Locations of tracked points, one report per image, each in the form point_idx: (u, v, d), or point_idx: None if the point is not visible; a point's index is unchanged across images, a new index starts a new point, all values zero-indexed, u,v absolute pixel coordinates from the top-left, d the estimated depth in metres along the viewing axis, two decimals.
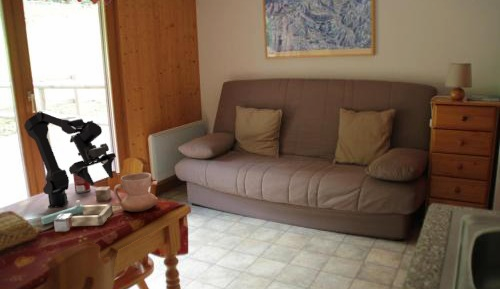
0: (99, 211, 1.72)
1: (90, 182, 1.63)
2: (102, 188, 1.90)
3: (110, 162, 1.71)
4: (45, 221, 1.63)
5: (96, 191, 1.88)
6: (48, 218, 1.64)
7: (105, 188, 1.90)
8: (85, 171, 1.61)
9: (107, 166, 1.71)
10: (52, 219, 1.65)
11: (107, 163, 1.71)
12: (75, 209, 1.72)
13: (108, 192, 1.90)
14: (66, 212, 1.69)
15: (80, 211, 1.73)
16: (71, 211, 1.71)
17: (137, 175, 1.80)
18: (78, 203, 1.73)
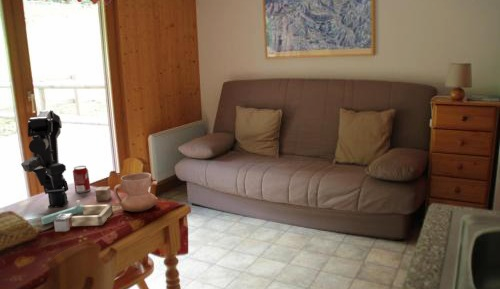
0: (99, 211, 1.72)
1: None
2: (102, 188, 1.90)
3: (49, 176, 1.62)
4: (45, 221, 1.63)
5: (96, 191, 1.88)
6: (48, 218, 1.64)
7: (105, 188, 1.90)
8: (34, 172, 1.69)
9: None
10: (52, 219, 1.65)
11: None
12: (75, 209, 1.72)
13: (108, 192, 1.90)
14: (66, 212, 1.69)
15: (80, 211, 1.73)
16: (71, 211, 1.71)
17: (137, 175, 1.80)
18: (78, 203, 1.73)
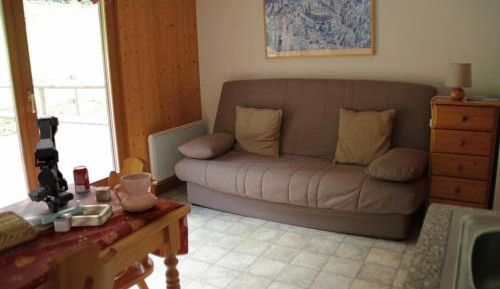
0: (99, 211, 1.72)
1: None
2: (102, 188, 1.90)
3: (50, 203, 1.65)
4: (45, 221, 1.63)
5: (96, 191, 1.88)
6: (48, 218, 1.63)
7: (105, 188, 1.90)
8: (46, 203, 1.66)
9: None
10: (52, 219, 1.65)
11: None
12: (75, 209, 1.72)
13: (108, 192, 1.90)
14: (66, 212, 1.69)
15: (80, 211, 1.73)
16: (71, 211, 1.71)
17: (137, 175, 1.80)
18: (78, 203, 1.73)
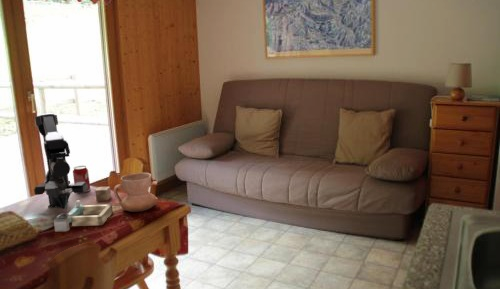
0: (99, 211, 1.72)
1: None
2: (102, 188, 1.90)
3: (63, 196, 1.61)
4: None
5: (96, 191, 1.88)
6: None
7: (105, 188, 1.90)
8: (55, 197, 1.61)
9: None
10: (69, 220, 1.63)
11: None
12: (79, 209, 1.72)
13: (108, 192, 1.90)
14: (75, 212, 1.68)
15: (82, 210, 1.74)
16: (77, 211, 1.70)
17: (137, 175, 1.80)
18: (79, 203, 1.73)
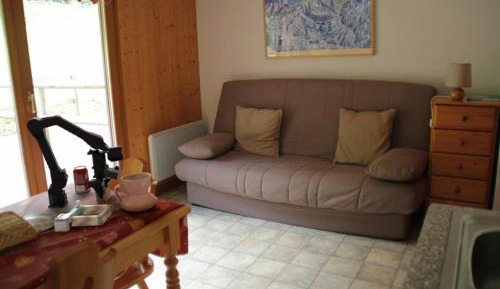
0: (99, 211, 1.72)
1: (100, 196, 1.87)
2: None
3: None
4: None
5: None
6: None
7: (105, 188, 1.90)
8: None
9: (105, 183, 1.93)
10: (69, 220, 1.63)
11: (106, 181, 1.92)
12: (79, 209, 1.72)
13: (108, 192, 1.90)
14: (75, 212, 1.68)
15: (82, 210, 1.74)
16: (77, 211, 1.70)
17: (137, 175, 1.80)
18: (79, 203, 1.73)
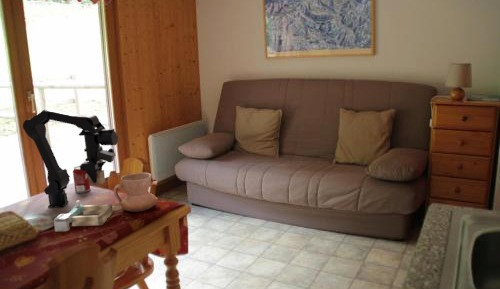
0: (99, 211, 1.72)
1: (94, 180, 1.77)
2: None
3: None
4: None
5: None
6: None
7: (99, 172, 1.79)
8: (96, 170, 1.75)
9: (98, 167, 1.82)
10: (69, 220, 1.63)
11: (100, 165, 1.82)
12: (79, 209, 1.72)
13: (102, 176, 1.80)
14: (75, 212, 1.68)
15: (82, 210, 1.74)
16: (77, 211, 1.70)
17: (137, 175, 1.80)
18: (79, 203, 1.73)
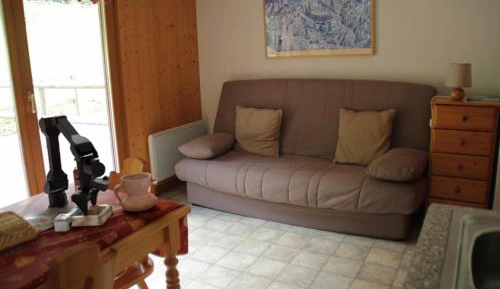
0: (99, 211, 1.72)
1: (85, 212, 1.62)
2: (89, 207, 1.66)
3: (98, 191, 1.71)
4: None
5: None
6: None
7: (93, 207, 1.66)
8: (87, 202, 1.60)
9: (94, 194, 1.70)
10: (69, 220, 1.63)
11: (95, 191, 1.70)
12: (79, 209, 1.72)
13: (96, 212, 1.67)
14: (75, 212, 1.68)
15: None
16: (77, 211, 1.70)
17: (137, 175, 1.80)
18: None
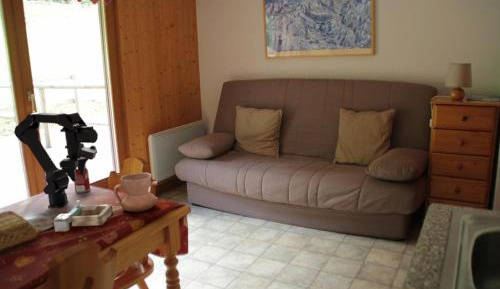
0: (99, 211, 1.72)
1: (73, 178, 1.73)
2: (89, 207, 1.66)
3: (86, 161, 1.83)
4: None
5: (82, 211, 1.64)
6: None
7: (93, 207, 1.66)
8: (75, 169, 1.71)
9: (82, 163, 1.82)
10: (69, 220, 1.63)
11: (83, 161, 1.82)
12: (79, 209, 1.72)
13: (96, 212, 1.67)
14: (75, 212, 1.68)
15: None
16: (77, 211, 1.70)
17: (137, 175, 1.80)
18: (79, 203, 1.73)
